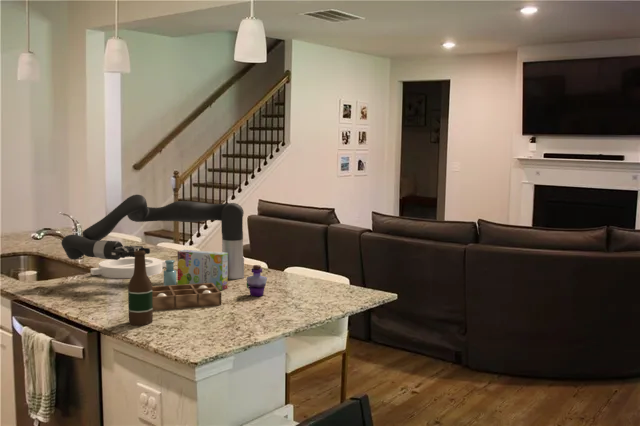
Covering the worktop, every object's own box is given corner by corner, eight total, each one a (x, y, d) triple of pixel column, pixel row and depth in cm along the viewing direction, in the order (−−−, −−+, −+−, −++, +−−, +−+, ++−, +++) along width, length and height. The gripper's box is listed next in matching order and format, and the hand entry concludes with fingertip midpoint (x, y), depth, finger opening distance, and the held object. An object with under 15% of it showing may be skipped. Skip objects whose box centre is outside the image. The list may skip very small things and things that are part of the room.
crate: (212, 294, 237) (212, 282, 237) (221, 304, 221) (221, 292, 221) (146, 298, 228) (146, 286, 228) (150, 310, 212) (150, 297, 212)
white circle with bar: (171, 267, 290) (170, 258, 289) (148, 280, 262) (148, 269, 262) (115, 265, 292) (115, 256, 292) (87, 277, 265) (87, 267, 264)
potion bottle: (243, 293, 239) (243, 264, 238) (263, 291, 243) (264, 262, 241) (249, 298, 231) (249, 268, 230) (270, 296, 235) (270, 266, 234)
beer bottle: (131, 319, 201) (130, 248, 199) (155, 319, 202) (154, 248, 199) (125, 326, 193) (124, 252, 191) (150, 326, 194) (149, 253, 191)
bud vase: (175, 291, 241) (175, 259, 240) (177, 294, 236) (176, 261, 235) (163, 292, 239) (162, 259, 238) (164, 295, 235) (164, 262, 233)
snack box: (228, 288, 249) (228, 252, 247) (221, 291, 243) (221, 254, 242) (183, 283, 255) (183, 248, 254) (176, 286, 250) (176, 250, 248)
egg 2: (207, 294, 234) (207, 284, 234) (209, 296, 230) (209, 286, 230) (197, 294, 233) (197, 284, 232) (198, 297, 229) (198, 286, 229)
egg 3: (211, 299, 227) (211, 288, 226) (213, 301, 223) (213, 291, 222) (200, 299, 225) (200, 289, 225) (202, 302, 221) (202, 291, 221)
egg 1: (166, 302, 221) (166, 291, 220) (168, 305, 217) (168, 294, 217) (155, 303, 219) (155, 292, 219) (156, 305, 216) (156, 294, 215)
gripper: (97, 243, 236) (134, 246, 232) (118, 238, 249) (153, 241, 245) (97, 262, 236) (134, 265, 232) (118, 256, 250) (153, 259, 246)
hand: (143, 252), depth 239 cm, fingers open, 8 cm apart
